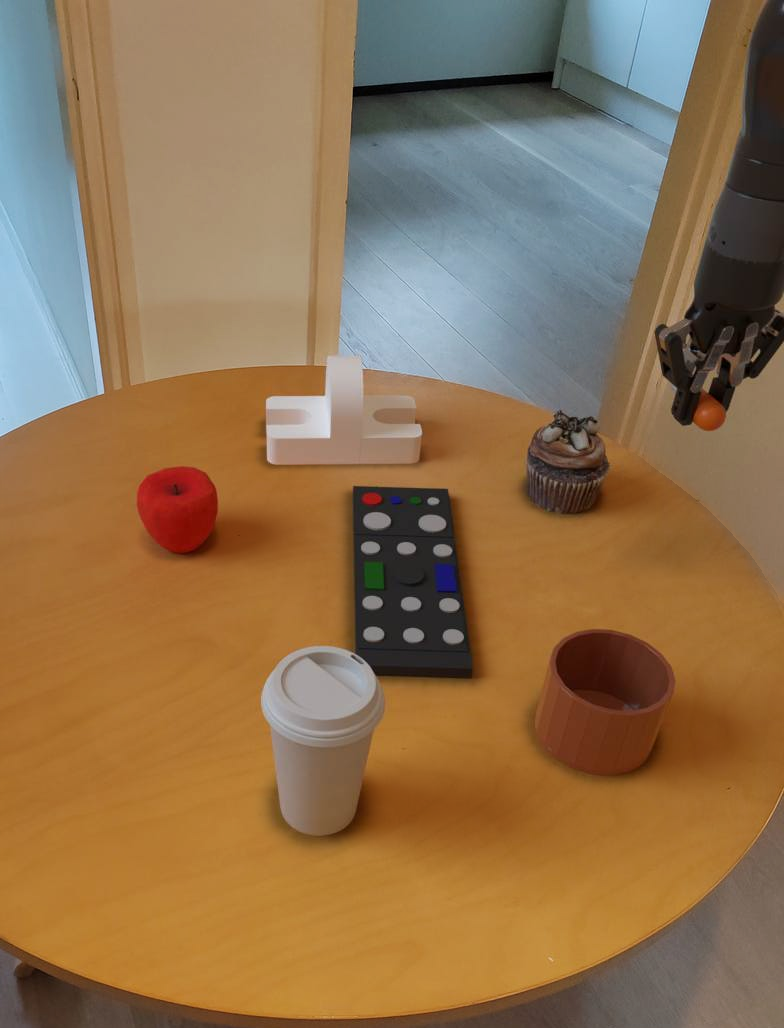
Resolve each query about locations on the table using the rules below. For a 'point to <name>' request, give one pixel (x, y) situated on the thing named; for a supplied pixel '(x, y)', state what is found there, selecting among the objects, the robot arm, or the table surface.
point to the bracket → (342, 423)
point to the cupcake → (566, 464)
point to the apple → (178, 507)
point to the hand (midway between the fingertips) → (697, 418)
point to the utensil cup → (603, 701)
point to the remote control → (408, 584)
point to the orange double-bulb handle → (707, 412)
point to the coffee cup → (321, 734)
